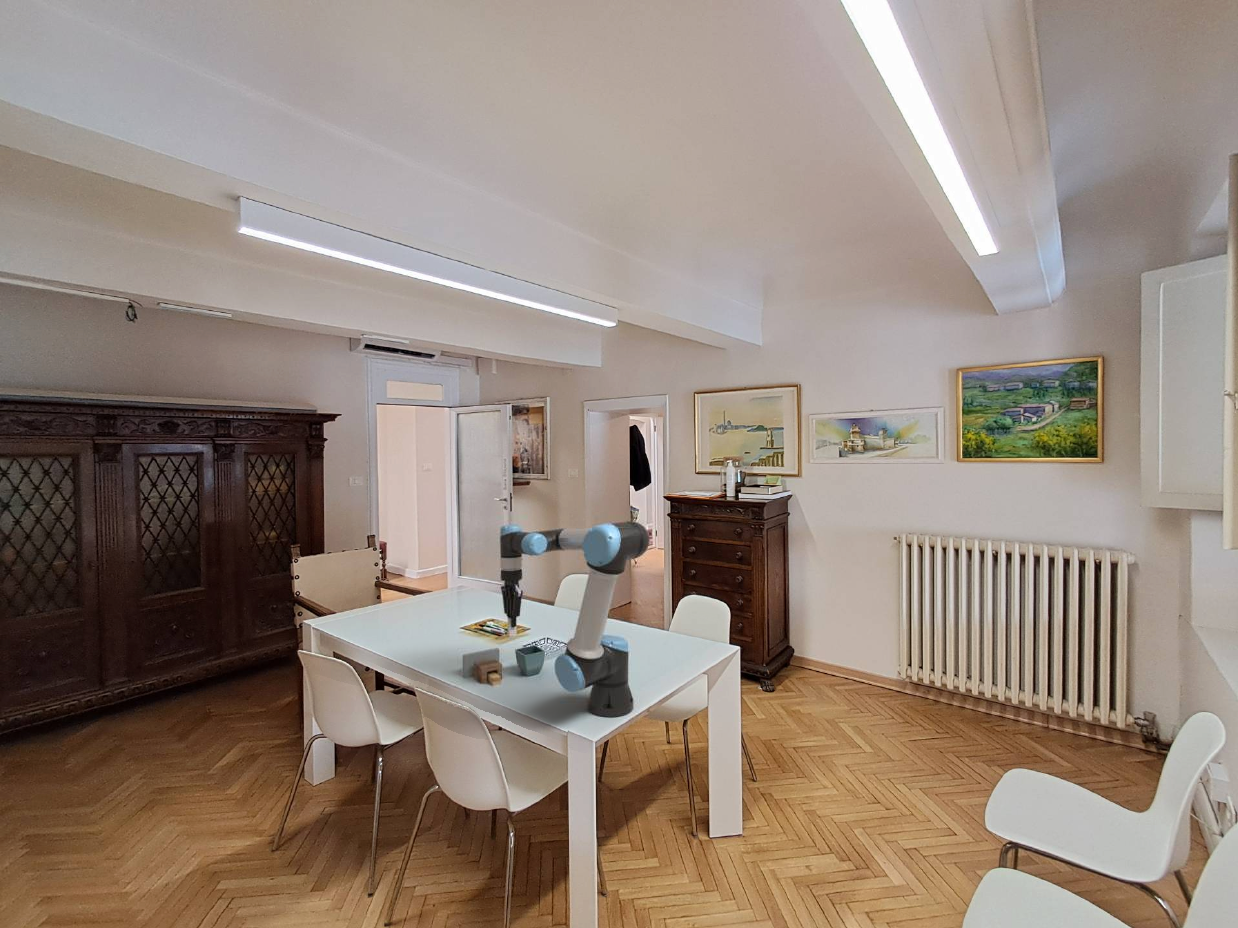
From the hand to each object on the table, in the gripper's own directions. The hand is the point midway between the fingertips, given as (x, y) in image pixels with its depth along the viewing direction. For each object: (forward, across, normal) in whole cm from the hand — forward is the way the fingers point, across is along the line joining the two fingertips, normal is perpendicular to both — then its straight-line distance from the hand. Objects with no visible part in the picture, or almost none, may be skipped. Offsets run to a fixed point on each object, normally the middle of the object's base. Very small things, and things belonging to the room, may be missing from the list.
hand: (512, 635), depth 202 cm
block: (+19, +17, +2) cm, 26 cm away
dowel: (+20, +14, +2) cm, 24 cm away
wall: (+19, +23, +2) cm, 30 cm away
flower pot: (+20, +12, -13) cm, 26 cm away
